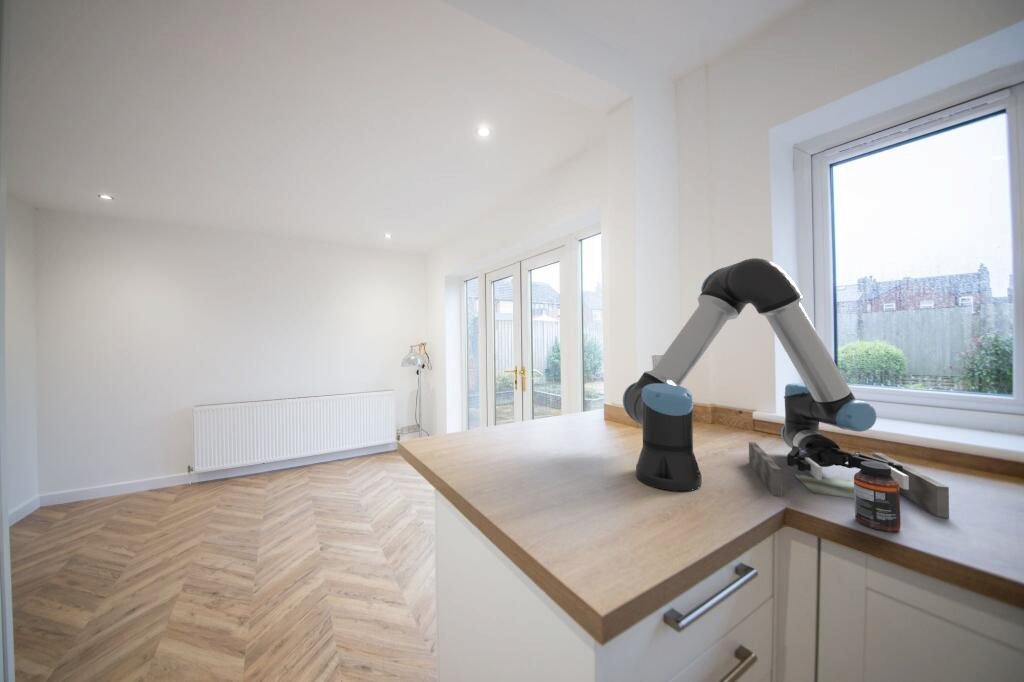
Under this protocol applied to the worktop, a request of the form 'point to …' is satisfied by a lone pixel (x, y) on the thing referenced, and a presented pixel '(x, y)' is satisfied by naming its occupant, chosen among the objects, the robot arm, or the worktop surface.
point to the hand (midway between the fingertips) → (861, 478)
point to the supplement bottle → (877, 497)
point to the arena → (920, 486)
